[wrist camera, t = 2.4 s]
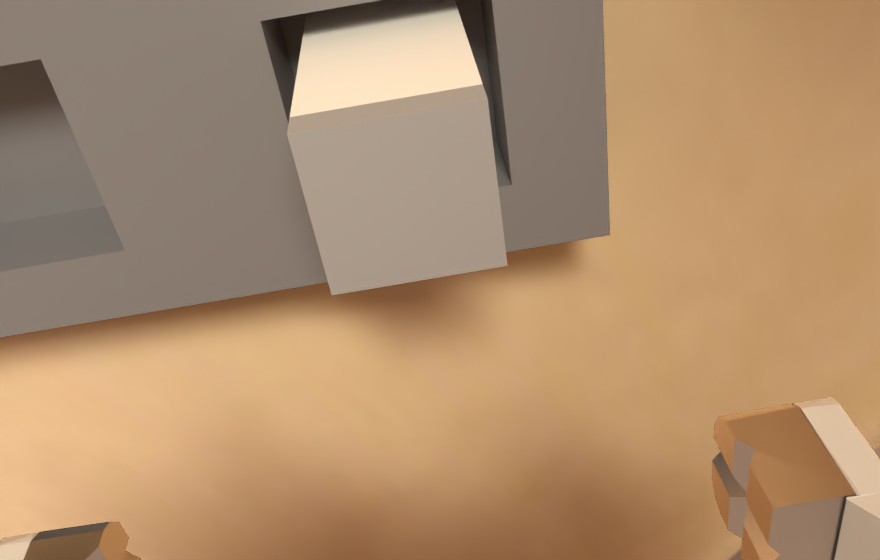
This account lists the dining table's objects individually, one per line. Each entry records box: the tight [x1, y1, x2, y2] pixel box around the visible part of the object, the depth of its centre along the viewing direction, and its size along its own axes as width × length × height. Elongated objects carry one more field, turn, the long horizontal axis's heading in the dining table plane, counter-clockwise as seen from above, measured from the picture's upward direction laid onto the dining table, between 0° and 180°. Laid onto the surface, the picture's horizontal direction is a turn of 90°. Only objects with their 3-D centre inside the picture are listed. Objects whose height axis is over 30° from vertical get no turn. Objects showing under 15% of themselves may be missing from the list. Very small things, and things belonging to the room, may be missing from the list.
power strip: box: [0, 0, 610, 337], centre depth 23 cm, size 22×10×4 cm, turn 98°
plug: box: [287, 0, 508, 295], centre depth 21 cm, size 4×4×8 cm
